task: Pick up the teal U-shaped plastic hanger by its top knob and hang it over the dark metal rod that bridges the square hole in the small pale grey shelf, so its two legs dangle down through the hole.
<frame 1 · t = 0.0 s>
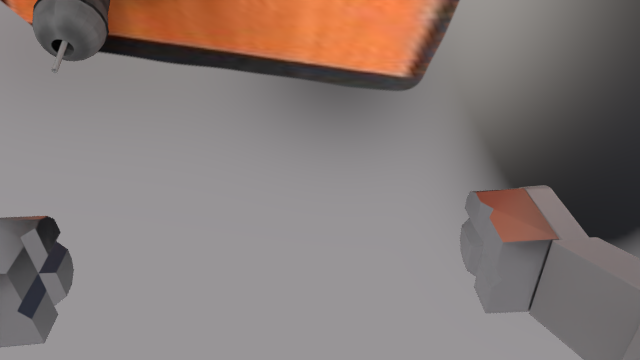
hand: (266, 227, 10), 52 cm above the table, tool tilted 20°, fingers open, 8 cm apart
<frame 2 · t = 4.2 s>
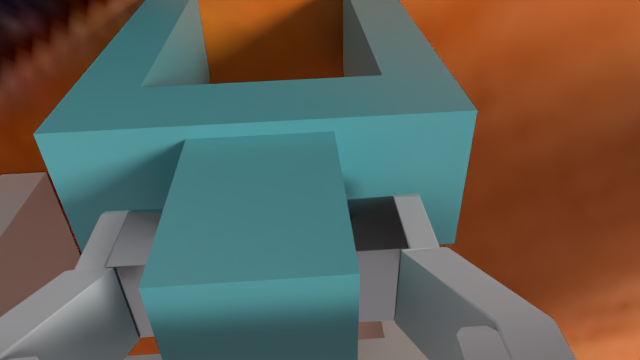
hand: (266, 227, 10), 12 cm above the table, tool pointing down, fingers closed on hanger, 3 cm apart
shelf: (222, 283, 28), on the table
hanger: (273, 32, 20), on the table, touching gripper
when the fingers open (19 cm above the table, at t = 10.0 s): hanger drops 1 cm, resting on shelf.
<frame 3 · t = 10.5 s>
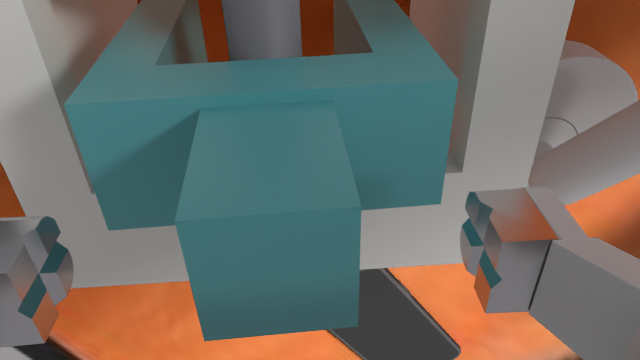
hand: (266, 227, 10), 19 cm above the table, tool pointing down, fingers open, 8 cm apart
wall hook: (548, 98, 30), on the table
smartphone: (384, 321, 41), on the table
hanger: (268, 22, 21), point 5 cm above the table, touching shelf
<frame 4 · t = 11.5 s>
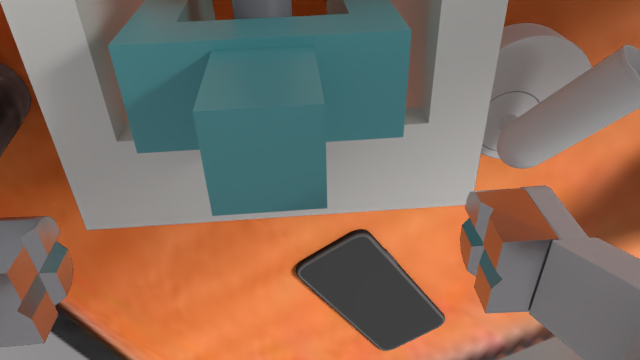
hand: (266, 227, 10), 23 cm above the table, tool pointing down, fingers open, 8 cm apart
wall hook: (516, 76, 33), on the table
smartphone: (373, 290, 45), on the table
hanger: (270, 2, 24), point 5 cm above the table, touching shelf
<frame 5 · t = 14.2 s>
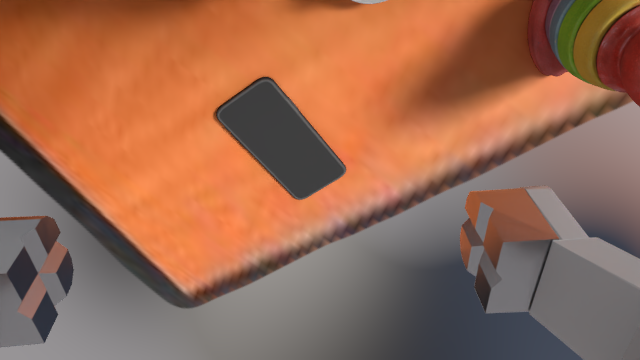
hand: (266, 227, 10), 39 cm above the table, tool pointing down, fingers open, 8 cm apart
smartphone: (284, 140, 54), on the table
stacking bear: (575, 9, 48), on the table
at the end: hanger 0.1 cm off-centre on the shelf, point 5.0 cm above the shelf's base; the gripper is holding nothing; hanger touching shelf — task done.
